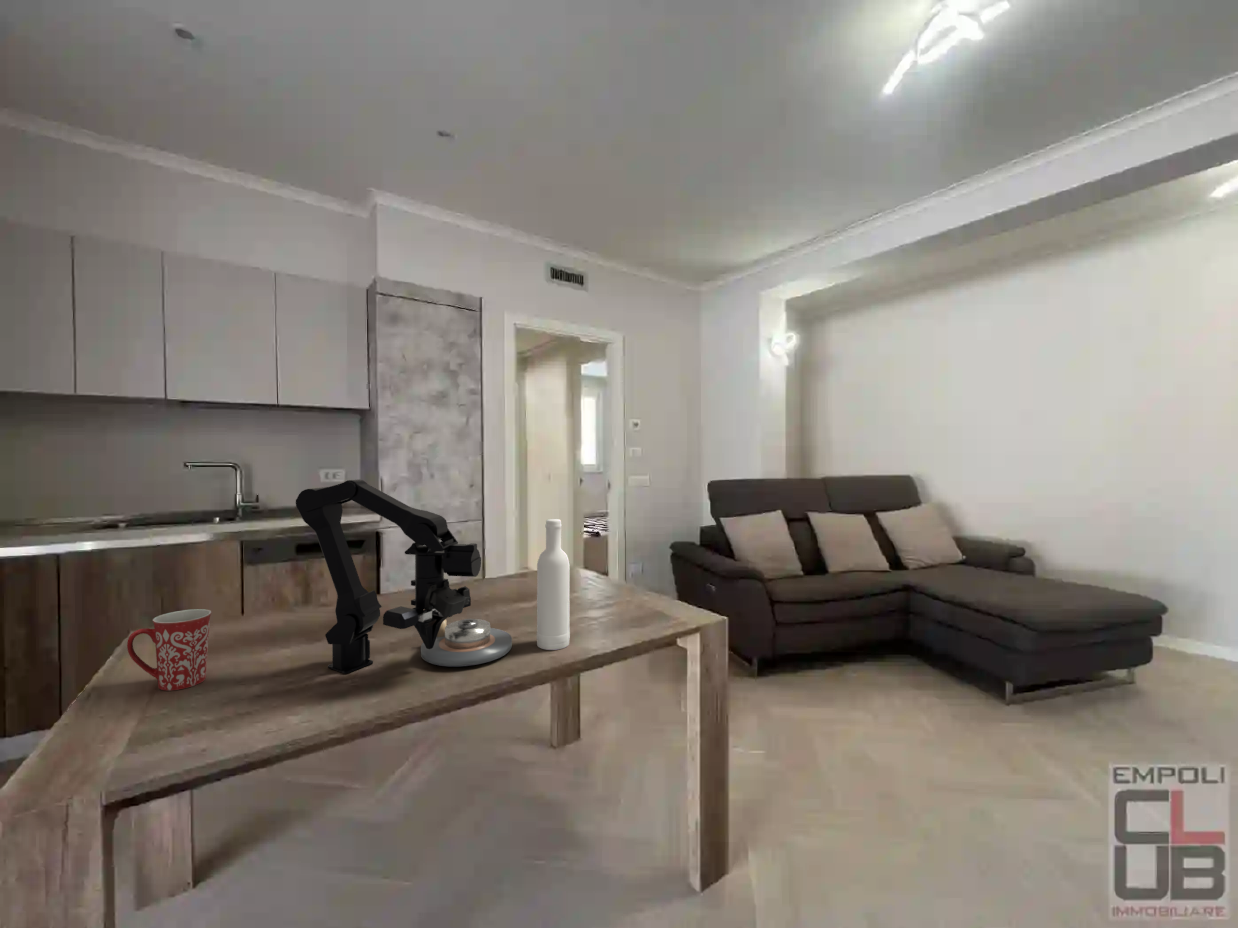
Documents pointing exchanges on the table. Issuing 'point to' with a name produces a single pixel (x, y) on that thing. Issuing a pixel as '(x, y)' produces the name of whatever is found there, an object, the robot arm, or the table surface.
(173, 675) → the mug
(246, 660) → the table surface
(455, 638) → the cover
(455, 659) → the turntable
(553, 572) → the bottle
